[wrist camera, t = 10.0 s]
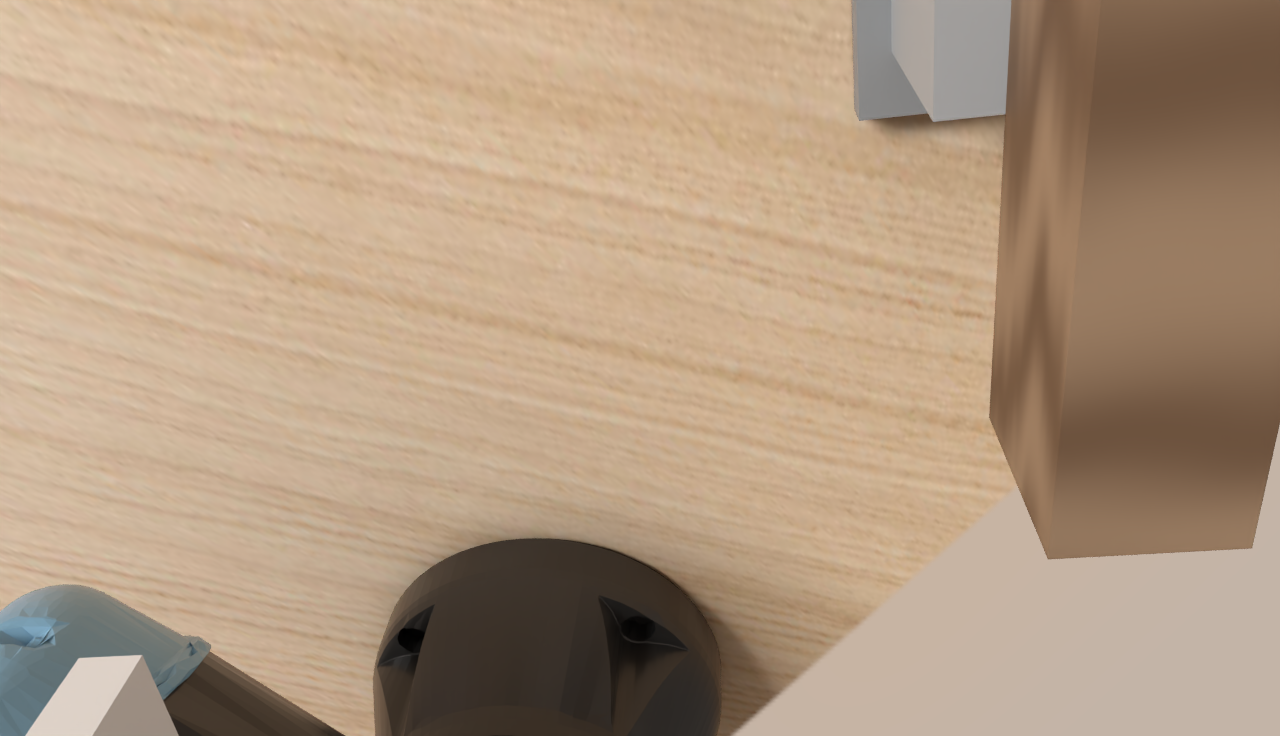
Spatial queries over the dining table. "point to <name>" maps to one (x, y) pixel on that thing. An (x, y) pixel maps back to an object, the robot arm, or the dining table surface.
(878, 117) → the grey stepped block
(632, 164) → the dining table surface
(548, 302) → the dining table surface
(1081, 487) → the bar
